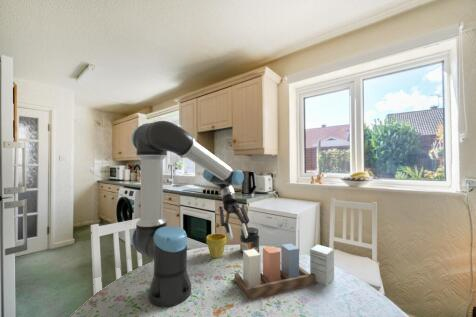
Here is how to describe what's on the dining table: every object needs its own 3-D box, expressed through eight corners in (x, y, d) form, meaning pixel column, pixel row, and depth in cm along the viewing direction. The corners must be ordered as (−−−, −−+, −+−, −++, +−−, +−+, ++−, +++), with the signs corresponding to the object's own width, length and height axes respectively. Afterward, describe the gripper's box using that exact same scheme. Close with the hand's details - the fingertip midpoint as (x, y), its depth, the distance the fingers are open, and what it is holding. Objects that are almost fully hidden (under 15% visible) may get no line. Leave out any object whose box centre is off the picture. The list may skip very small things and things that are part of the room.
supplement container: (242, 257, 111) (242, 233, 111) (237, 249, 121) (237, 227, 121) (262, 255, 113) (262, 232, 114) (255, 247, 124) (255, 226, 124)
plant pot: (202, 256, 112) (202, 237, 112) (215, 249, 120) (215, 232, 120) (217, 261, 106) (217, 241, 106) (230, 254, 114) (230, 235, 114)
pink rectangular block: (269, 283, 87) (269, 253, 87) (262, 275, 92) (262, 247, 92) (280, 281, 88) (280, 251, 88) (273, 273, 94) (273, 246, 94)
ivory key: (248, 287, 84) (248, 256, 84) (243, 279, 89) (243, 250, 89) (260, 285, 85) (260, 254, 85) (254, 277, 91) (254, 248, 91)
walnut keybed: (248, 300, 76) (248, 289, 76) (234, 279, 90) (234, 269, 90) (315, 284, 86) (315, 274, 86) (294, 267, 100) (294, 259, 100)
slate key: (288, 279, 90) (288, 250, 90) (281, 272, 95) (281, 244, 95) (299, 277, 91) (299, 248, 92) (291, 270, 97) (291, 243, 97)
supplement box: (317, 272, 96) (317, 243, 96) (334, 279, 90) (334, 248, 91) (309, 279, 91) (309, 248, 91) (327, 286, 85) (327, 254, 85)
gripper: (244, 200, 122) (256, 239, 107) (209, 202, 116) (217, 244, 100) (247, 192, 117) (260, 231, 102) (211, 193, 111) (220, 236, 95)
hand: (239, 237), depth 101 cm, fingers open, 7 cm apart
